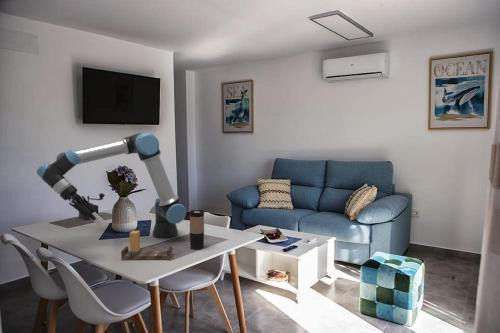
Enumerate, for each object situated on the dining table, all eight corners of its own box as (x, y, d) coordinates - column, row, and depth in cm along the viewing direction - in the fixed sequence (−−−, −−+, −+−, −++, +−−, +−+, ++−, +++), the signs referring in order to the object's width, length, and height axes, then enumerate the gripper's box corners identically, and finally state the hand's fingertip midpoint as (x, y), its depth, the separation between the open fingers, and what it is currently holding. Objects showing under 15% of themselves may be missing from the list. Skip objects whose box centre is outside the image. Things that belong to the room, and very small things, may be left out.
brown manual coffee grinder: (85, 220, 258) (84, 195, 257) (78, 218, 266) (77, 193, 264) (106, 217, 270) (105, 193, 268) (99, 215, 277) (98, 191, 276)
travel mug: (190, 245, 201) (190, 209, 199) (204, 245, 201) (204, 209, 200) (189, 249, 193) (189, 212, 191) (203, 249, 194) (203, 212, 192)
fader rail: (121, 260, 176) (121, 251, 175) (126, 254, 184) (126, 246, 183) (169, 259, 177) (169, 250, 177) (172, 254, 185) (172, 245, 185)
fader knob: (128, 254, 177) (128, 233, 176) (132, 251, 183) (132, 230, 182) (138, 254, 177) (137, 233, 176) (141, 250, 183) (140, 230, 182)
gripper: (66, 192, 183) (101, 225, 185) (52, 197, 169) (90, 232, 171) (77, 182, 183) (111, 215, 185) (64, 186, 169) (101, 221, 171)
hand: (101, 223), depth 178 cm, fingers closed
